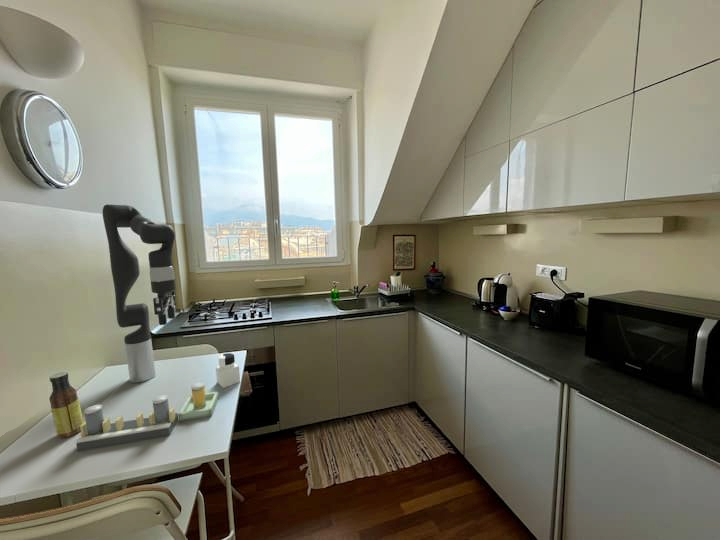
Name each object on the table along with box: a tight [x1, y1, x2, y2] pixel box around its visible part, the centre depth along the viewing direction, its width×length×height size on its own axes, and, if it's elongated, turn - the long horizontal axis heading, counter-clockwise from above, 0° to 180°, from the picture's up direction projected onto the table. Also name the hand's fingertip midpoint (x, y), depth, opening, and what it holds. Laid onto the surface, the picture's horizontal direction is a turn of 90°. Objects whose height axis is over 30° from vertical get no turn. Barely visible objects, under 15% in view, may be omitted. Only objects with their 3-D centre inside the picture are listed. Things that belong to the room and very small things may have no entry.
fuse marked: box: [191, 382, 206, 410], centre depth 106 cm, size 4×4×8 cm
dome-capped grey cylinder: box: [83, 404, 105, 436], centre depth 90 cm, size 4×4×8 cm
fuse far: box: [152, 394, 170, 425], centre depth 95 cm, size 4×4×8 cm
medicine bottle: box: [215, 352, 241, 389], centre depth 124 cm, size 7×7×12 cm
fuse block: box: [75, 407, 179, 452], centre depth 93 cm, size 8×24×6 cm, turn 104°
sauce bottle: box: [49, 371, 84, 438], centre depth 94 cm, size 6×6×20 cm
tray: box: [178, 391, 220, 422], centre depth 106 cm, size 12×10×2 cm
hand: (167, 321), depth 111 cm, fingers open, 8 cm apart
